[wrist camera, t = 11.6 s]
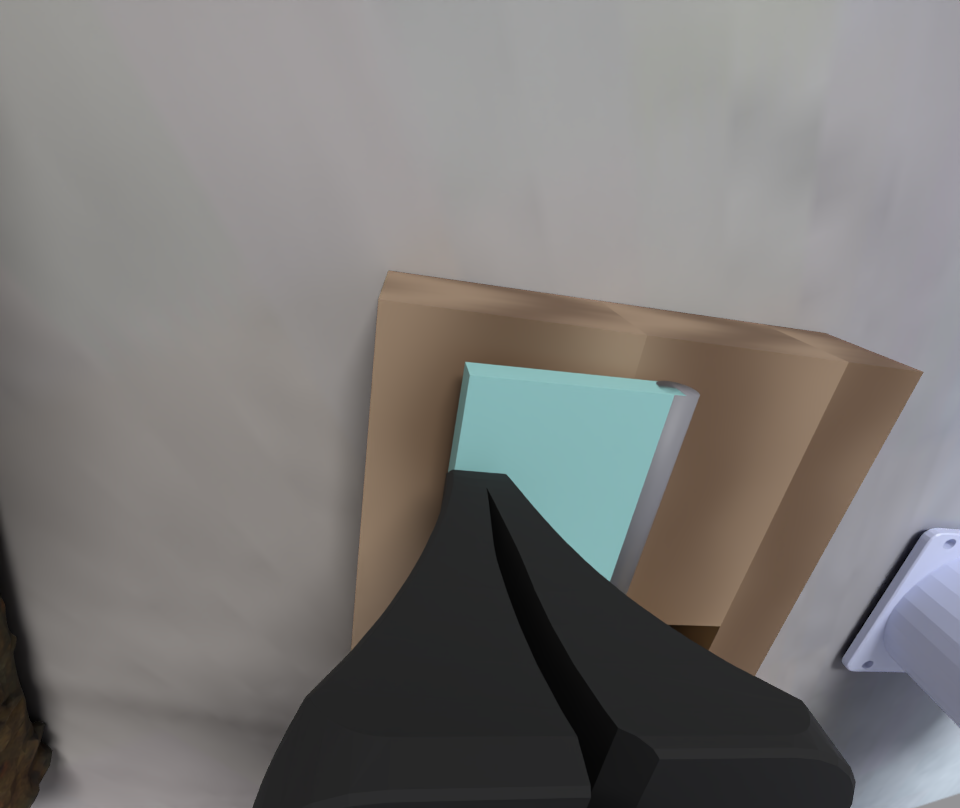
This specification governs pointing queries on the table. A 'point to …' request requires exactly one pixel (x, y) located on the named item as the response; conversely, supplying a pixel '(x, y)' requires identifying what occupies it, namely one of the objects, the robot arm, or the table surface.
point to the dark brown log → (17, 732)
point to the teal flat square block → (577, 451)
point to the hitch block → (700, 462)
